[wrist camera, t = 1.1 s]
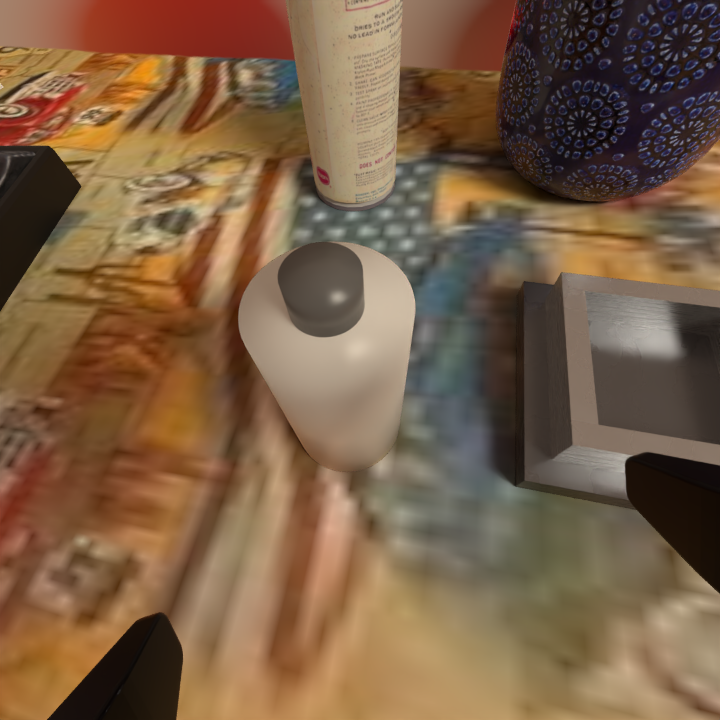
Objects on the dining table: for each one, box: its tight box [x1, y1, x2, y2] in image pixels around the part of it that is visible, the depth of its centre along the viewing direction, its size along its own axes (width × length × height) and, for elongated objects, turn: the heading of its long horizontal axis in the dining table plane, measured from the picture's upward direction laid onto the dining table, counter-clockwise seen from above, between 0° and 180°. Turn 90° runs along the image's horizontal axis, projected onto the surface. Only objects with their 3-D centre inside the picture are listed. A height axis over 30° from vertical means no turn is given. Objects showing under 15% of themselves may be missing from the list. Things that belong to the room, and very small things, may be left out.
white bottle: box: [238, 242, 415, 472], centre depth 17 cm, size 6×6×13 cm
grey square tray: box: [515, 272, 720, 510], centre depth 21 cm, size 13×13×4 cm
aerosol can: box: [286, 0, 403, 211], centre depth 24 cm, size 7×7×20 cm
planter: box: [496, 0, 720, 201], centre depth 27 cm, size 16×16×15 cm
